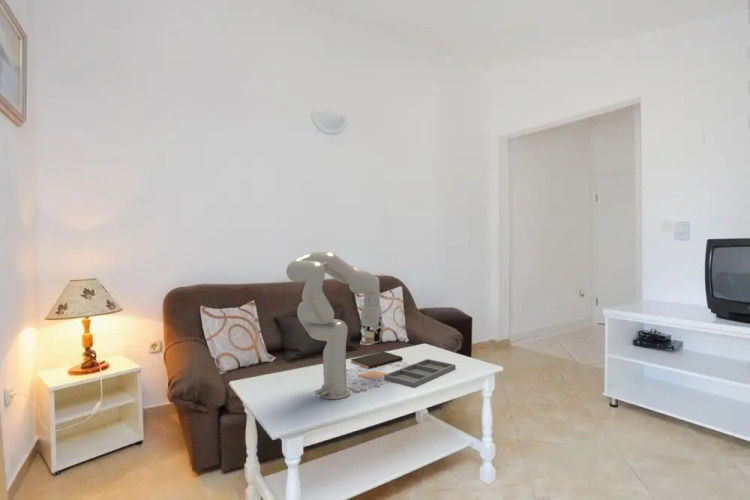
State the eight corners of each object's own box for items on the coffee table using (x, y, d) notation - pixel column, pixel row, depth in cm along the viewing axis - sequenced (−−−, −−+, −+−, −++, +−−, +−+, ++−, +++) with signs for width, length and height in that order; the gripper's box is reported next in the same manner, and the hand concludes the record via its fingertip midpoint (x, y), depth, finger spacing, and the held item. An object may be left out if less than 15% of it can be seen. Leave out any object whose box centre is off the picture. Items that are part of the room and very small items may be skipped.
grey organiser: (413, 388, 178) (413, 382, 178) (384, 380, 190) (384, 375, 190) (455, 369, 203) (455, 364, 203) (427, 363, 215) (427, 358, 215)
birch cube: (373, 342, 193) (372, 332, 193) (365, 341, 197) (365, 330, 197) (380, 341, 197) (380, 330, 197) (372, 339, 200) (372, 329, 200)
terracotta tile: (374, 380, 190) (374, 379, 190) (358, 376, 197) (358, 375, 197) (388, 375, 197) (388, 373, 197) (373, 371, 204) (372, 370, 204)
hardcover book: (350, 363, 221) (350, 359, 221) (383, 355, 235) (383, 351, 235) (369, 370, 208) (368, 365, 208) (402, 361, 222) (402, 356, 222)
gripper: (353, 301, 200) (354, 339, 200) (379, 304, 188) (380, 344, 188) (364, 300, 205) (365, 336, 205) (390, 302, 194) (391, 341, 194)
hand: (372, 340), depth 197 cm, fingers closed on birch cube, 4 cm apart
